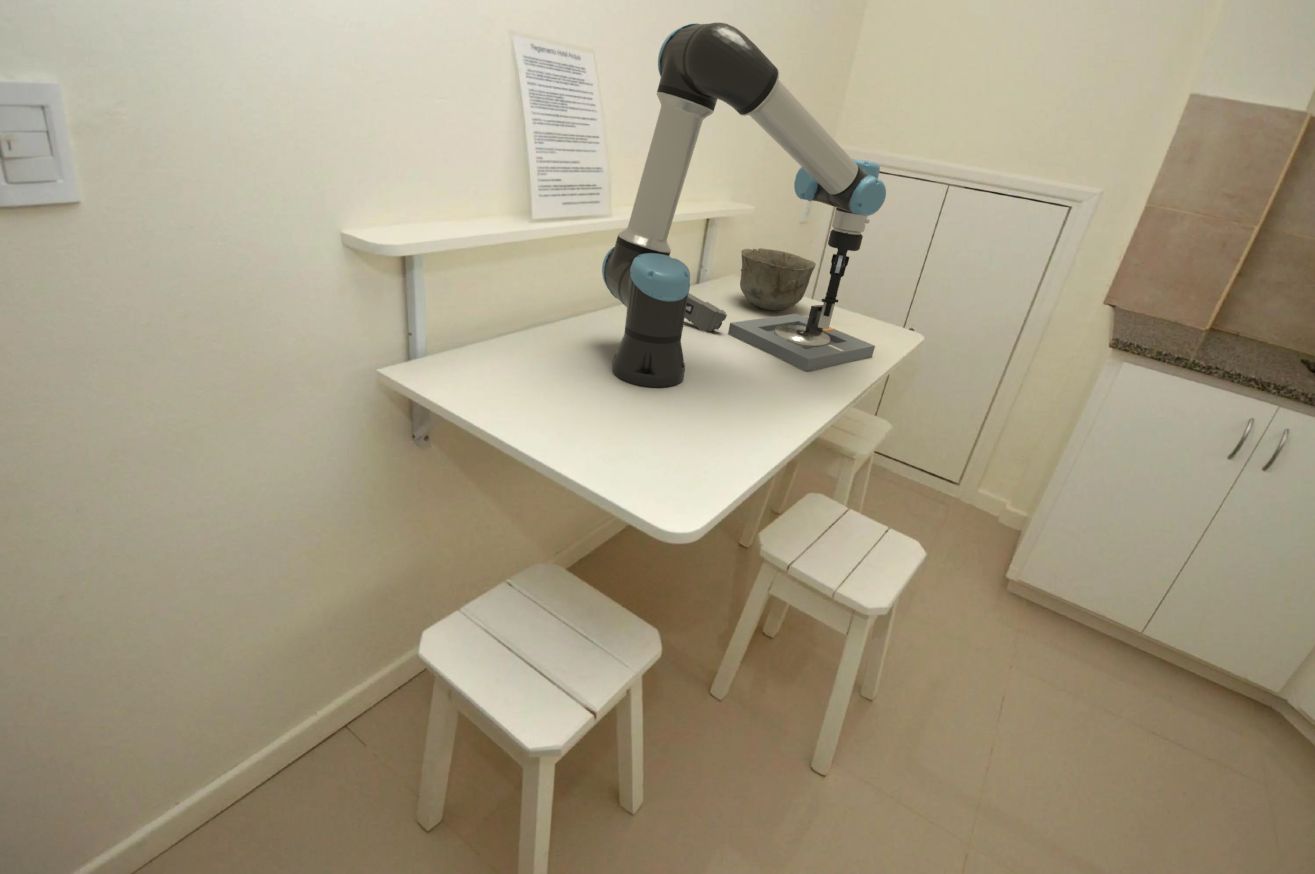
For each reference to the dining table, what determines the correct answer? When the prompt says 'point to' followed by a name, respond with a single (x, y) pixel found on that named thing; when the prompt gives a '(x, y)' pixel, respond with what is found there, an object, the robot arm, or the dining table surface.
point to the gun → (703, 314)
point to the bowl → (774, 278)
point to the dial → (805, 331)
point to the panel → (806, 359)
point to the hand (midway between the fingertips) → (823, 327)
